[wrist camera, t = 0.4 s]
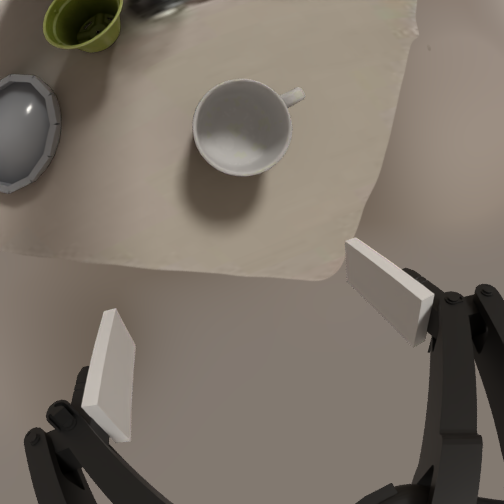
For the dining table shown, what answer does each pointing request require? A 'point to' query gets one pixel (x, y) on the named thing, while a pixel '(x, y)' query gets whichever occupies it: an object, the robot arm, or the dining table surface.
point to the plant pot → (82, 24)
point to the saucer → (26, 130)
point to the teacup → (244, 126)
